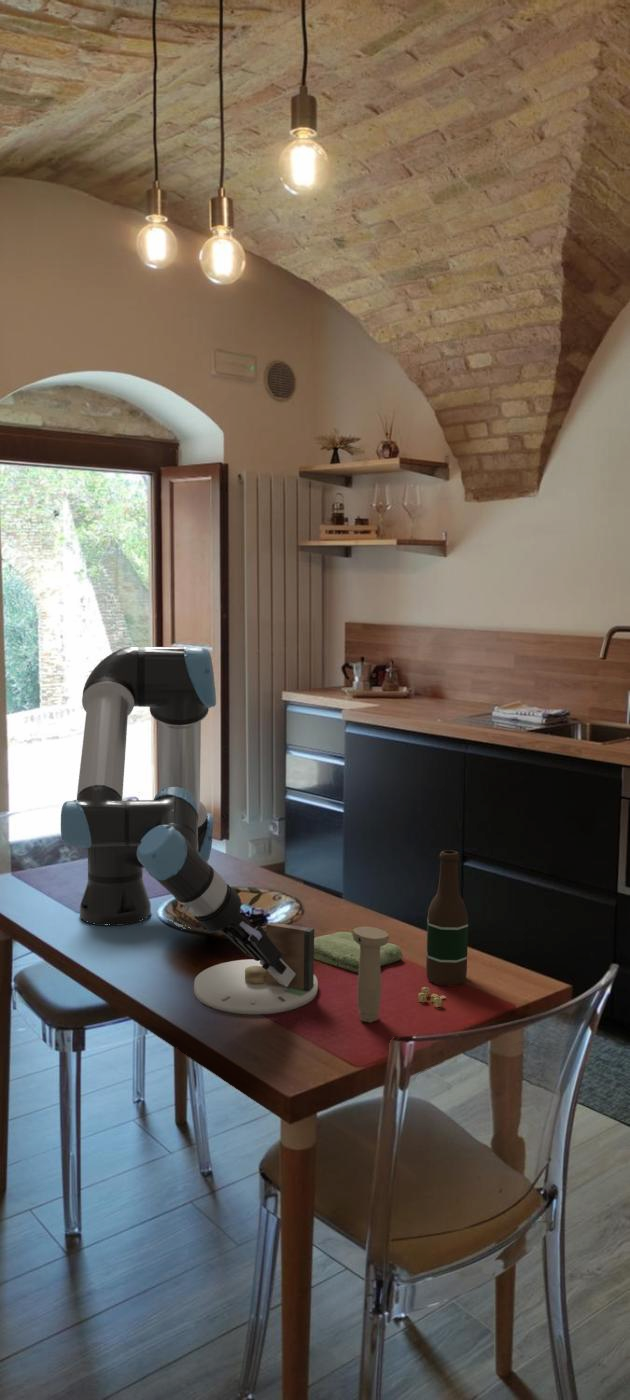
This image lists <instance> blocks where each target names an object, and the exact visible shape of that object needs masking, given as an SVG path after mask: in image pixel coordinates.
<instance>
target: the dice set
mask: <svg viewBox="0 0 630 1400" xmlns="http://www.w3.org/2000/svg"><path fill="white" fill-rule="evenodd" d="M430 993H431V992H430V987H426V986H424V987H421V992H419V993H418V996H417V997H418V998H417V1000H418V1001H420V1002H425V1001H426V1002H427V998H426V996H429V995H430ZM430 997H431V998H430ZM439 997H440V998H439ZM443 998H446V999H447V997H446V996H445V995H440V996H439V995H438V994H436V993H432V994H431V995H430V996H429V999H430V1003H431V1002H434V1003H433V1007H434V1006H436V1007H440V1006H442V1007H443V1000H442V999H443ZM418 1001H417V1002H418Z"/></svg>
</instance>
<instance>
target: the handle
mask: <svg viewBox="0 0 630 1400" xmlns="http://www.w3.org/2000/svg"><path fill="white" fill-rule="evenodd" d="M352 934H353V938H354V940H355V941H356V942H357V943H358V944H359V945H360V962H359V973H357V974H358V976H357V1006H358V1015H359V1016H358V1017H359V1019H360V1021H361V1022H362V1023H365V1022H366V1023H370V1024H371V1023H373V1022H377V1021H378V1019H379V1014H380V1013H378V1012H379V1010H380V1006H381V998H382V975H381V974H382V973H381V972H382V971H381V970H382V969H381V966H380V947H381V946H383V945H385V944H387V943H389V936H390V935H389V934H388V932H387V931H385V930H383V929H382V928H381V929H380V928H378V927H374V926H367V925H366V926H359V927H355V928H353V929H352Z"/></svg>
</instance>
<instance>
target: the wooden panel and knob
mask: <svg viewBox="0 0 630 1400" xmlns="http://www.w3.org/2000/svg"><path fill="white" fill-rule="evenodd" d="M265 926H266V927H265V928H266V933H265V934H266V935H267V937H268V938H269V939H270V940H271V941H272V943H273V944H274V945H275V946H276V948H277V949H278V950H279V951H280V952H281V954H282V956H281V959H282V960H283V961H284V962H285V963H286V964H287V965H288V966H289V967H290V968H291V969H292V970H293V971H294V973H295V974H296V975H295V976H294V978H293V979H292V980H291V982H290V983H289V985H288V986H287V987H293V988H298V989H304V990H307V991H309V990H310V989H312V988H313V982H314V975H315V973H314V970H315V965H314V964H315V959H314V939H315V928H314V927H306V926H298V925H294V924H293V925H292V924H285V923H278V922H273V921H270V922H268V923H267V924H266V925H265ZM245 981H246V982H248V983H252V984H260V983H264V982H266V983H270V984H276V985H282V984H280V983H279V982H278V981H277V980H276V979H275V978H274V977H273V976H272V975H271V974H270V973H269V972H268V971H267V970H266V969H264V968H263V967H262V966H250V967H247V968H246V969H245ZM282 986H284V985H282Z"/></svg>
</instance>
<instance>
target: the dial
mask: <svg viewBox="0 0 630 1400" xmlns="http://www.w3.org/2000/svg"><path fill="white" fill-rule="evenodd" d="M250 966H262V965H261V964H260V960H259V961H256V960H254V958H253V959H237V960H231V961H227V962H226V961H225V962H221V963H219V964H215V965H213V966H210V967H208V968H206V969H204V970H202V971H201V972H199V973H198V974H197V976H195V978H194V982H193V992H194V995H195V997H196V1000H198V1001H199V1002H201V1003H202V1004H204V1005H205V1006H207V1007H210V1008H212V1009H215V1010H218V1011H222V1012H227V1013H232V1014H240V1015H270V1014H277V1013H283V1012H289V1011H292V1010H295V1009H299V1008H301V1007H303V1006H305V1005H307V1004H309V1003H310V1002H312V1001H313V1000H314V999H315V998H316V996H317V994H318V984H319V983H318V982H319V981H318V978H317V976H316V975H315V974H314V982H313V988H312V989H310V990H309V991H307V990H304V989H298V988H293V987H286V986H282V985H276V984H270V983H266V982H264V983H260V984H252V983H248V982H246V981H245V969H246V968H247V967H250Z"/></svg>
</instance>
